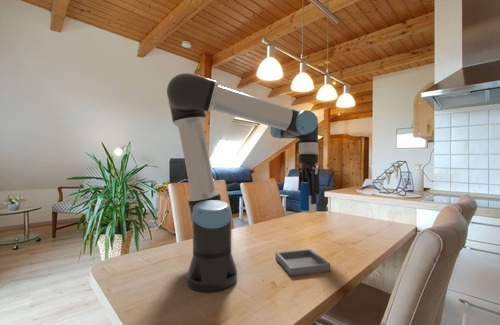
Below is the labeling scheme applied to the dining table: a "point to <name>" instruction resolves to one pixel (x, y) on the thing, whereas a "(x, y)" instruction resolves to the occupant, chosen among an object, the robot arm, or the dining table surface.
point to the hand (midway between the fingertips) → (308, 210)
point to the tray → (302, 262)
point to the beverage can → (305, 197)
